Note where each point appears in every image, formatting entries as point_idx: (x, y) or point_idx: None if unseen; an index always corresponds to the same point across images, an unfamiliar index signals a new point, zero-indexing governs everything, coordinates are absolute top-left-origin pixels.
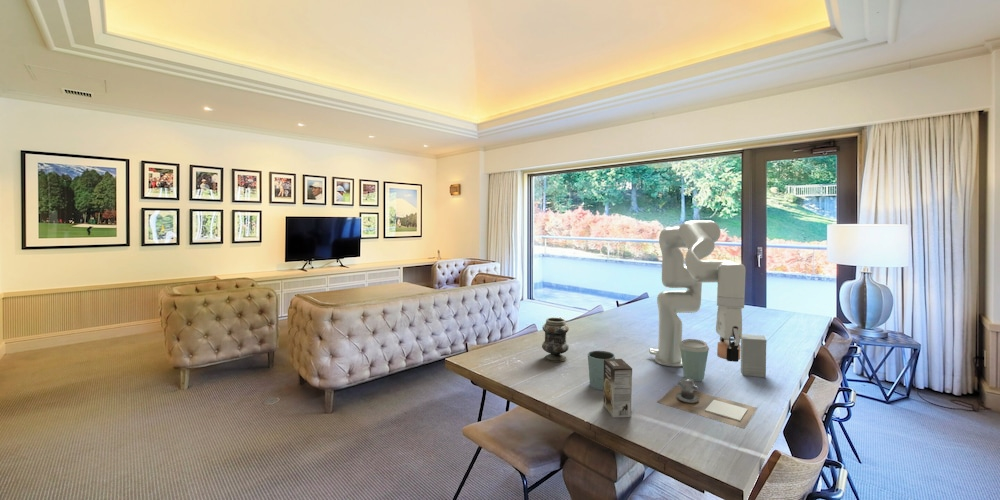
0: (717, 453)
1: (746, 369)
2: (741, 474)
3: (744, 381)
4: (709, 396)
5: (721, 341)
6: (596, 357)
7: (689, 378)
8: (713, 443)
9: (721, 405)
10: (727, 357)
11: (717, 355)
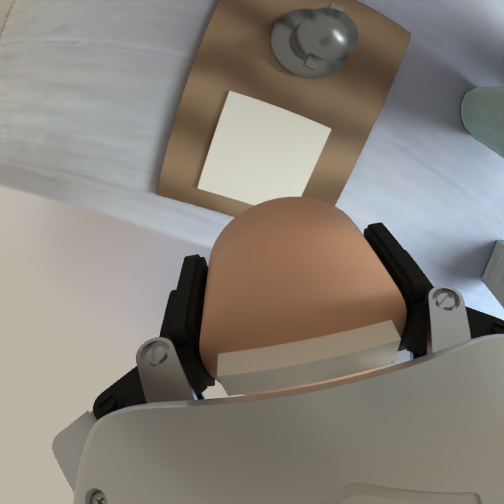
0: (33, 137)
1: (502, 255)
2: (3, 181)
3: (473, 238)
4: (361, 121)
5: (425, 295)
6: None
7: (348, 41)
8: (64, 123)
9: (289, 146)
10: (182, 272)
11: (284, 198)
